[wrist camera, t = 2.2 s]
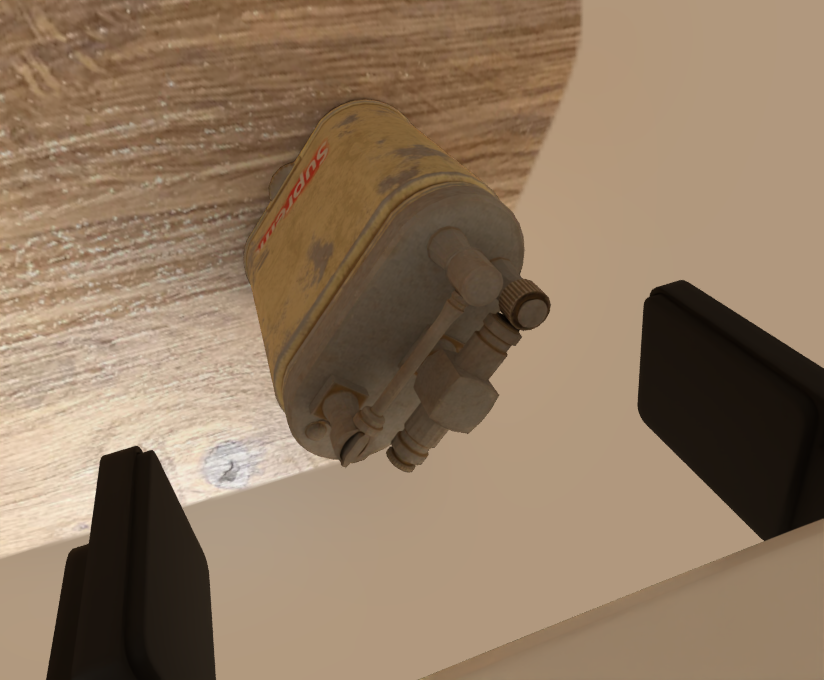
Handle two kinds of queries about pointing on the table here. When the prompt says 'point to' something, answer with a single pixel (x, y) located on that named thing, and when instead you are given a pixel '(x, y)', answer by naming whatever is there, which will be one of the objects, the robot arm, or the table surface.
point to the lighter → (385, 289)
